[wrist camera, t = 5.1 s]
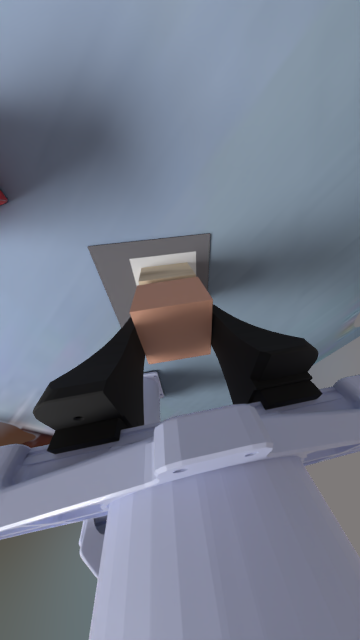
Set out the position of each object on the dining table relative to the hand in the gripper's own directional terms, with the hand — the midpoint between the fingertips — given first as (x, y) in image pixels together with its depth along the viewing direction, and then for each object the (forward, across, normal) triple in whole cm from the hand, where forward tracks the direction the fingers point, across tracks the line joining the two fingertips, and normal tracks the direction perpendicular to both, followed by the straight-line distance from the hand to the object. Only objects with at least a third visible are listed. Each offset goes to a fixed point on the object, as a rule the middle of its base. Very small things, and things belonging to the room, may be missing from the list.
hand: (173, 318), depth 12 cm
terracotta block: (+2, 0, 0) cm, 2 cm away
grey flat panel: (+7, +1, +2) cm, 7 cm away
